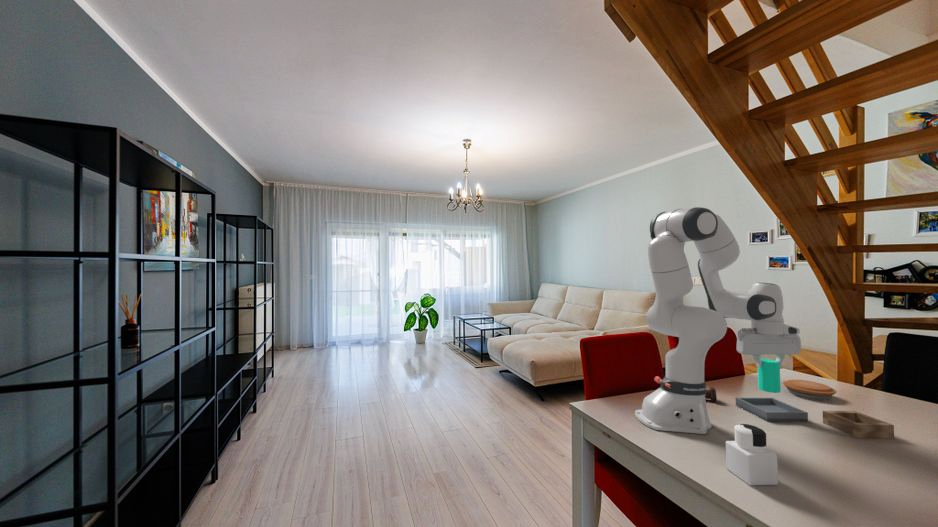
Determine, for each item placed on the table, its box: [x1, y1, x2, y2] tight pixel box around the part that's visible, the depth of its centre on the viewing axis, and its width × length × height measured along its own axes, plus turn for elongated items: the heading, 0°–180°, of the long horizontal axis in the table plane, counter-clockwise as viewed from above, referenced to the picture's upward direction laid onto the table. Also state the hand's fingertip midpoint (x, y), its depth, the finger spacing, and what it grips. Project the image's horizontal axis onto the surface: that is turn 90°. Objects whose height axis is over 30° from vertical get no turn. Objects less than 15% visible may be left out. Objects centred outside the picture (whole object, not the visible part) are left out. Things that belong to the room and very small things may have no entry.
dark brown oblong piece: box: [705, 386, 718, 403], centre depth 135 cm, size 6×5×15 cm
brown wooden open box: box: [822, 410, 895, 440], centre depth 107 cm, size 10×10×4 cm
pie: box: [782, 379, 837, 401], centre depth 138 cm, size 15×16×5 cm
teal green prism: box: [757, 358, 781, 394], centre depth 121 cm, size 6×6×12 cm
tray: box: [735, 397, 809, 423], centre depth 120 cm, size 14×14×3 cm
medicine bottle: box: [725, 423, 779, 486], centre depth 83 cm, size 7×7×12 cm
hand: (768, 366), depth 121 cm, fingers closed on teal green prism, 5 cm apart
